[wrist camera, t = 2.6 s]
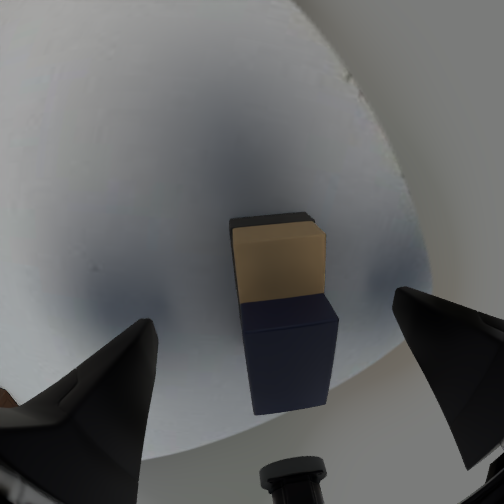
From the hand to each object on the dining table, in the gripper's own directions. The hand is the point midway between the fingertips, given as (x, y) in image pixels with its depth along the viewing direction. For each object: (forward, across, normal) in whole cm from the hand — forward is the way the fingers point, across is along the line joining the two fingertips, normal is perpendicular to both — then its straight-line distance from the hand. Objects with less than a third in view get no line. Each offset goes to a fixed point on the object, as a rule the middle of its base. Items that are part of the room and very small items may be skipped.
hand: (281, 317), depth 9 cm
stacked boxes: (+2, 0, 0) cm, 2 cm away
